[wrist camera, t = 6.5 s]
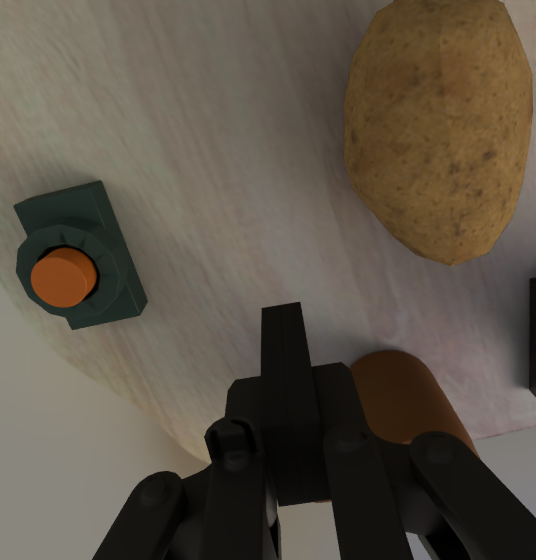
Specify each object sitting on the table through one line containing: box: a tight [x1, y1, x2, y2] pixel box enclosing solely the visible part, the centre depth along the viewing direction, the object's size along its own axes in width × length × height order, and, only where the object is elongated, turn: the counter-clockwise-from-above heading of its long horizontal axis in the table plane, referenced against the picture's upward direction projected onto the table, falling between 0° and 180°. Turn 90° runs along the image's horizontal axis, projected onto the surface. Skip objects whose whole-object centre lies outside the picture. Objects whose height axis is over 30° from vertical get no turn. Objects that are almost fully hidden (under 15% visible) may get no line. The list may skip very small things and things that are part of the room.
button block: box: [14, 181, 148, 330], centre depth 28 cm, size 9×6×4 cm
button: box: [31, 248, 97, 307], centre depth 26 cm, size 3×3×2 cm
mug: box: [315, 351, 481, 503], centre depth 31 cm, size 12×8×9 cm, turn 104°
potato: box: [344, 0, 533, 266], centre depth 23 cm, size 10×14×8 cm
